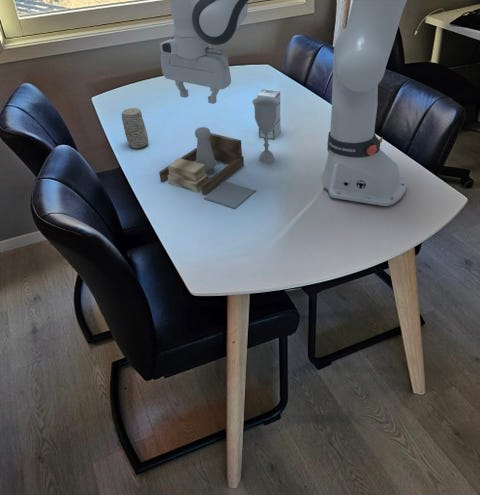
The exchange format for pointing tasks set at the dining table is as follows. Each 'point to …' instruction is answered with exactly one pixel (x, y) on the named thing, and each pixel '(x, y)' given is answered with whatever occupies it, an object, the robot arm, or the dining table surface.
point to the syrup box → (277, 127)
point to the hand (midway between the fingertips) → (198, 99)
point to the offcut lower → (187, 183)
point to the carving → (134, 128)
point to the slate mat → (230, 195)
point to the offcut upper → (187, 170)
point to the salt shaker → (204, 149)
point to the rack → (223, 152)
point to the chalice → (265, 123)
